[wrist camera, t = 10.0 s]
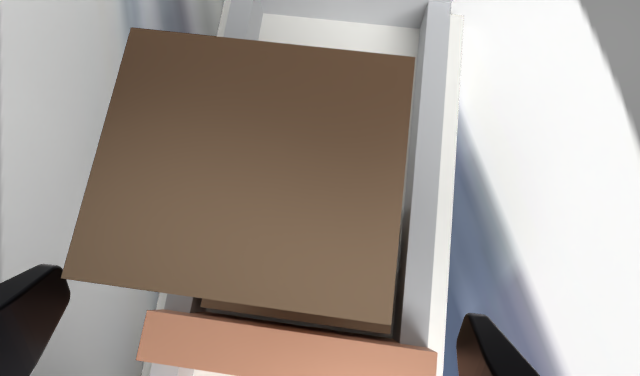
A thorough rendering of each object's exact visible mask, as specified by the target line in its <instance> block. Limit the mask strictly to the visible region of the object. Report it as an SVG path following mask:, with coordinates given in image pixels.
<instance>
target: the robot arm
mask: <svg viewBox="0 0 640 376" xmlns="http://www.w3.org/2000/svg"><path fill="white" fill-rule="evenodd" d="M62 272H63V269H62V268H61V267H60V266H57V265H48V264H40V265H38V266H35V267H33V268H31V269H29V270H27V271H25V272H23V273H21V274H19V275H17V276H15V277H13V278H11V279H8V280H6V281H4V282H2V283H0V376H29V375H30V374H31V372H32V371H33V369H34V367H35V366H36V364H37V362H38V360H39V359H40V357H41V355H42V353H43V351H44V349H45V347H46V346H47V344H48V342H49V340H50V338H51V336H52V334H53V332H54V330H55V328H56V326H57V324H58V322H59V321H60V319H61V317H62V315H63V313H64V311H65V309H66V307H67V305H68V303H69V300H70V290H69V286H68V283H67V280H66V279H63V278H61V275H62ZM456 349H457V360H458V371H459V376H540V375H539V374H538V373H537V372H536V370H535V369H534V368H533V367H532V366H531V365H530V364H529V363H528V361H527V360H526V359H525V358H524V357H523V356H522V355H521V353H520V352H519V351H518V350H517V349H516V348H515V347H514V346H513V344H512V343H511V342H510V341H509V340H508V339H507V338H506V336H505V335H504V334H503V333H502V332H501V331H500V330H499V328H498V327H497V326H496V325H495V324H494V323H493V322H492V321H491V319H490V318H489V317H488V316H486V315H483V314H475V313H467V314H466V315H465V317H464V319H463V323H462V326H461V329H460V332H459V335H458V338H457V345H456Z"/></svg>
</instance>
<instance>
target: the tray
mask: <svg viewBox="0 0 640 376" xmlns="http://www.w3.org/2000/svg"><path fill="white" fill-rule="evenodd" d="M452 1H453V0H224V4H223V9H222V13H221V18H220V22H219V27H218V31H217V36H218V37H228V38H237V39H247V40H256V41H266V42H276V43H285V44H295V45H304V46H314V47H324V48H333V49H343V50H353V51H362V52H372V53H381V54H391V55H401V56H410V57H415V67H414V78H413V89H412V100H411V111H410V123H409V134H408V145H407V156H406V167H405V178H404V189H403V200H402V212H401V223H400V234H399V245H398V256H397V267H396V278H395V290H394V301H393V312H392V323H391V331H390V334H384V333H377V332H370V331H363V330H356V329H349V328H342V327H335V326H328V325H322V324H315V323H308V322H301V321H294V320H287V319H280V318H273V317H266V316H259V315H252V314H245V313H238V312H231V311H224V310H217V309H210V308H203V307H200V306H201V301H202V298H196V297H189V296H182V295H175V294H168V293H161V292H159V297H158V301H157V306H156V310H147V312H146V317H145V321H144V326H143V330H142V335H141V339H140V343H139V348H138V352H137V357H136V360H137V361H144V364H143V369H142V373H141V376H443V360H444V343H445V327H446V310H447V293H448V277H449V260H450V243H451V226H452V210H453V193H454V176H455V159H456V143H457V126H458V109H459V92H460V76H461V59H462V42H463V25H464V15H454V14H451V3H452Z"/></svg>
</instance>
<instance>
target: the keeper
mask: <svg viewBox="0 0 640 376" xmlns="http://www.w3.org/2000/svg"><path fill="white" fill-rule="evenodd" d="M414 67H415V57H410V56H401V55H391V54H381V53H372V52H362V51H353V50H343V49H333V48H324V47H314V46H304V45H295V44H285V43H276V42H266V41H256V40H247V39H237V38H228V37H218V36H208V35H199V34H189V33H179V32H170V31H160V30H151V29H141V28H131V29H130V33H129V36H128V40H127V44H126V47H125V51H124V54H123V58H122V61H121V65H120V69H119V72H118V76H117V79H116V83H115V86H114V90H113V94H112V97H111V101H110V104H109V108H108V111H107V115H106V119H105V122H104V126H103V129H102V133H101V136H100V140H99V143H98V147H97V151H96V154H95V158H94V161H93V165H92V168H91V172H90V176H89V179H88V183H87V186H86V190H85V193H84V197H83V201H82V204H81V208H80V211H79V215H78V218H77V222H76V226H75V229H74V233H73V236H72V240H71V243H70V247H69V251H68V254H67V258H66V261H65V265H64V268H63V272H62V275H61V278H63V279H70V280H77V281H84V282H91V283H98V284H105V285H112V286H119V287H126V288H133V289H140V290H147V291H154V292H161V293H168V294H175V295H182V296H189V297H196V298H202V301H201V306H200V307H203V308H210V309H217V310H224V311H231V312H238V313H245V314H252V315H259V316H266V317H273V318H280V319H287V320H294V321H301V322H308V323H315V324H322V325H328V326H335V327H342V328H349V329H356V330H363V331H370V332H377V333H384V334H390V331H391V323H392V312H393V301H394V290H395V278H396V267H397V256H398V245H399V234H400V223H401V212H402V200H403V189H404V178H405V167H406V156H407V145H408V134H409V123H410V111H411V100H412V89H413V78H414Z"/></svg>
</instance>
